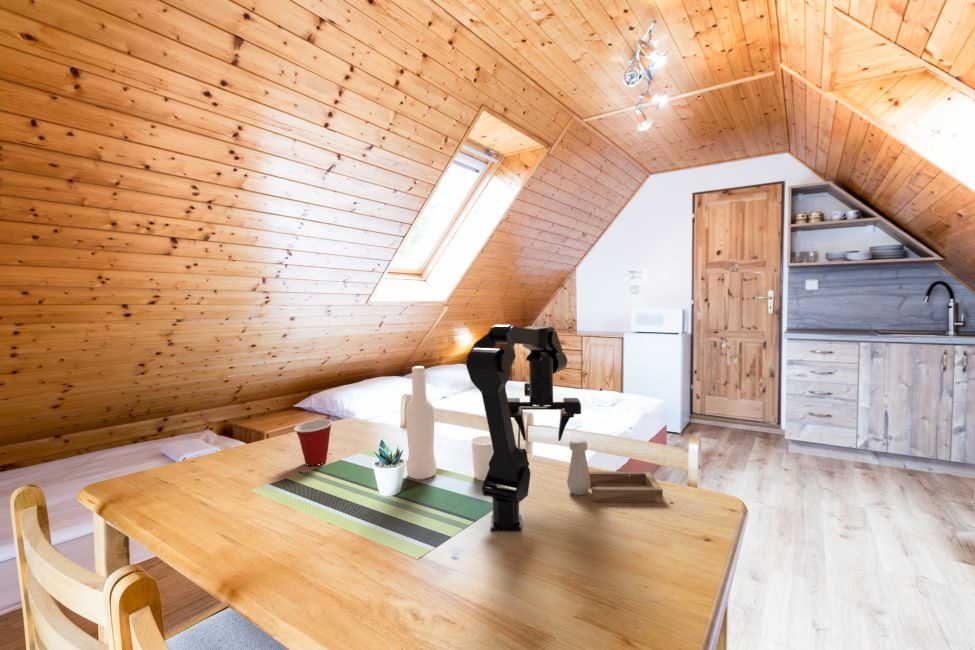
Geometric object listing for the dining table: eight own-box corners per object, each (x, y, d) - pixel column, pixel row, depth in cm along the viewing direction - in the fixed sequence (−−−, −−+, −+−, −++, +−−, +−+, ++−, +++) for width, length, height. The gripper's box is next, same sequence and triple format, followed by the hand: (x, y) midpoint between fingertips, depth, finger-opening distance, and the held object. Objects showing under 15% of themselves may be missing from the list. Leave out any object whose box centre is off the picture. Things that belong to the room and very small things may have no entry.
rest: (662, 502, 113) (662, 489, 113) (592, 502, 114) (592, 489, 114) (649, 483, 125) (649, 471, 125) (586, 482, 126) (586, 471, 126)
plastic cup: (294, 460, 148) (292, 421, 147) (331, 454, 153) (330, 417, 152) (297, 472, 138) (295, 430, 137) (336, 465, 143) (334, 425, 142)
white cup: (489, 484, 126) (488, 446, 126) (466, 478, 131) (465, 441, 130) (507, 474, 133) (506, 438, 132) (484, 469, 137) (483, 434, 137)
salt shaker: (592, 496, 117) (592, 443, 116) (568, 497, 117) (568, 444, 117) (588, 487, 123) (587, 436, 122) (565, 487, 123) (564, 436, 122)
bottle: (431, 481, 129) (427, 369, 127) (402, 479, 131) (398, 368, 129) (440, 470, 137) (437, 364, 135) (413, 468, 139) (409, 364, 137)
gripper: (577, 371, 126) (577, 431, 127) (505, 372, 128) (506, 430, 129) (580, 379, 115) (581, 444, 116) (502, 380, 117) (503, 443, 118)
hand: (542, 440), depth 120 cm, fingers open, 8 cm apart
